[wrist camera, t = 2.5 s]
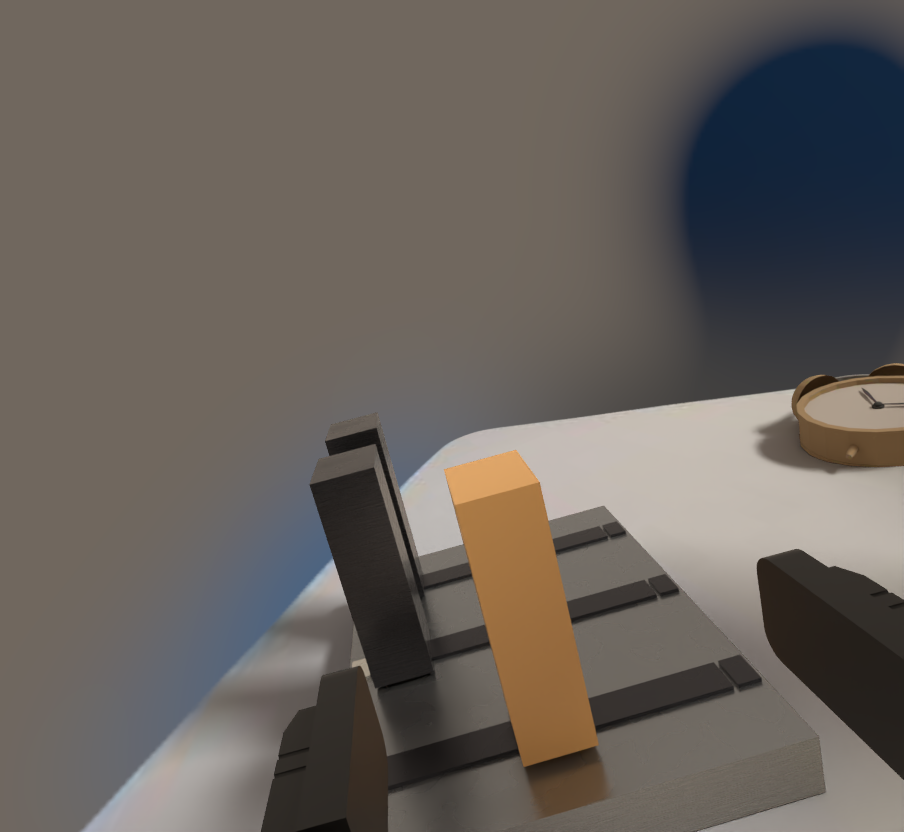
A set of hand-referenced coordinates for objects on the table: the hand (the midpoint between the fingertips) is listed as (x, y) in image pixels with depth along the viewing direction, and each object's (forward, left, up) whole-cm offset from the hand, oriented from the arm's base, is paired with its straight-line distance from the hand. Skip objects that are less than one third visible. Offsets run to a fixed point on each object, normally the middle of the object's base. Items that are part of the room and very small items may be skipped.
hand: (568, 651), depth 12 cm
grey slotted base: (-10, -16, -14) cm, 24 cm away
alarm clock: (-47, -14, -15) cm, 51 cm away
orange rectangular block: (-6, -10, -11) cm, 16 cm away
